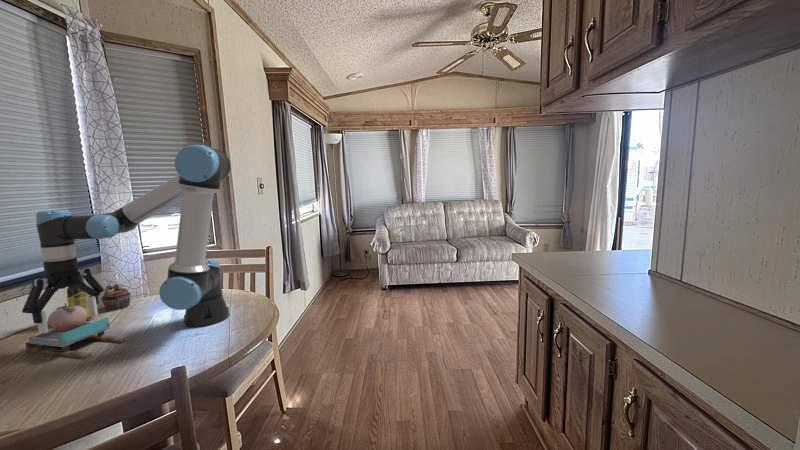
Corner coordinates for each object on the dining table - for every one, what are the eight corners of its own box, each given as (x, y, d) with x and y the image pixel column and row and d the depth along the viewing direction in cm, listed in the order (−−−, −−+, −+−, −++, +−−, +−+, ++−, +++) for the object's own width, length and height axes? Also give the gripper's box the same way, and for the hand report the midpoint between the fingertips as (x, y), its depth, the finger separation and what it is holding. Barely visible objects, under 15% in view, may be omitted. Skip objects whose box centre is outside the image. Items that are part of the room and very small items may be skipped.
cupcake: (136, 305, 143) (134, 283, 142) (109, 313, 134) (106, 289, 133) (125, 302, 147) (122, 280, 146) (98, 309, 139) (94, 287, 137)
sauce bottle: (78, 325, 123) (70, 273, 121) (65, 324, 125) (57, 273, 122) (97, 318, 130) (90, 269, 127) (85, 317, 131) (77, 268, 128)
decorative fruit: (97, 327, 110) (92, 298, 109) (68, 338, 102) (62, 306, 101) (75, 328, 112) (69, 299, 111) (45, 338, 104) (39, 307, 103)
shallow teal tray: (110, 334, 112) (108, 317, 111) (64, 353, 99) (61, 334, 99) (79, 331, 115) (76, 314, 114) (30, 349, 102) (27, 331, 102)
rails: (126, 340, 110) (125, 331, 110) (86, 359, 98) (84, 349, 98) (71, 334, 115) (70, 326, 115) (26, 352, 104) (25, 343, 103)
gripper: (94, 250, 116) (103, 307, 119) (-4, 268, 92) (9, 340, 95) (111, 251, 115) (119, 309, 117) (15, 269, 91) (28, 342, 93)
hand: (70, 323), depth 106 cm, fingers open, 13 cm apart
